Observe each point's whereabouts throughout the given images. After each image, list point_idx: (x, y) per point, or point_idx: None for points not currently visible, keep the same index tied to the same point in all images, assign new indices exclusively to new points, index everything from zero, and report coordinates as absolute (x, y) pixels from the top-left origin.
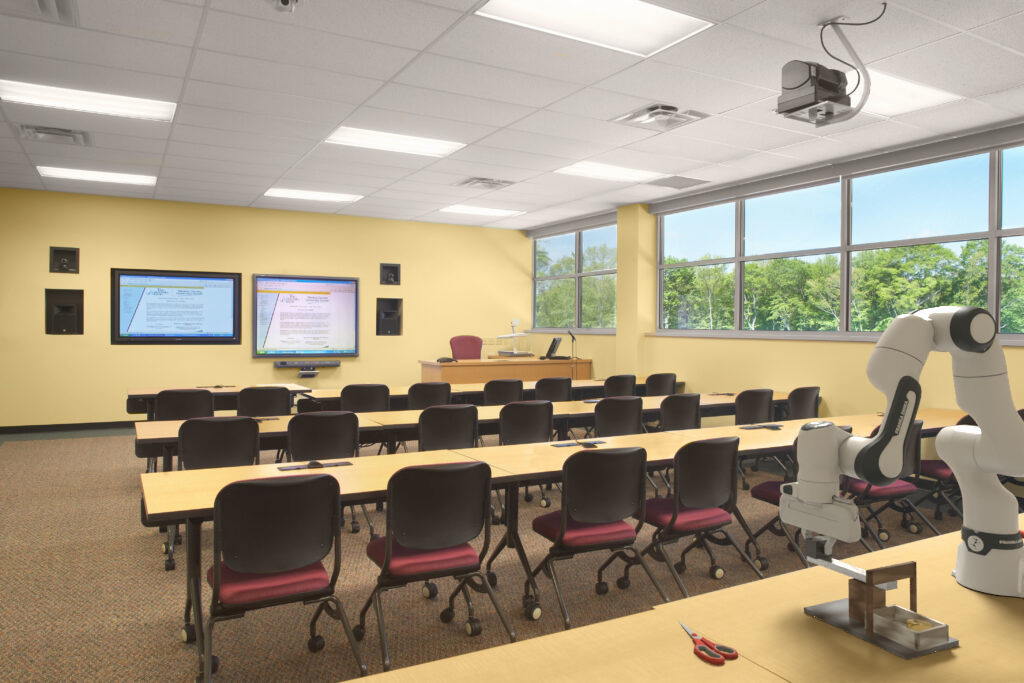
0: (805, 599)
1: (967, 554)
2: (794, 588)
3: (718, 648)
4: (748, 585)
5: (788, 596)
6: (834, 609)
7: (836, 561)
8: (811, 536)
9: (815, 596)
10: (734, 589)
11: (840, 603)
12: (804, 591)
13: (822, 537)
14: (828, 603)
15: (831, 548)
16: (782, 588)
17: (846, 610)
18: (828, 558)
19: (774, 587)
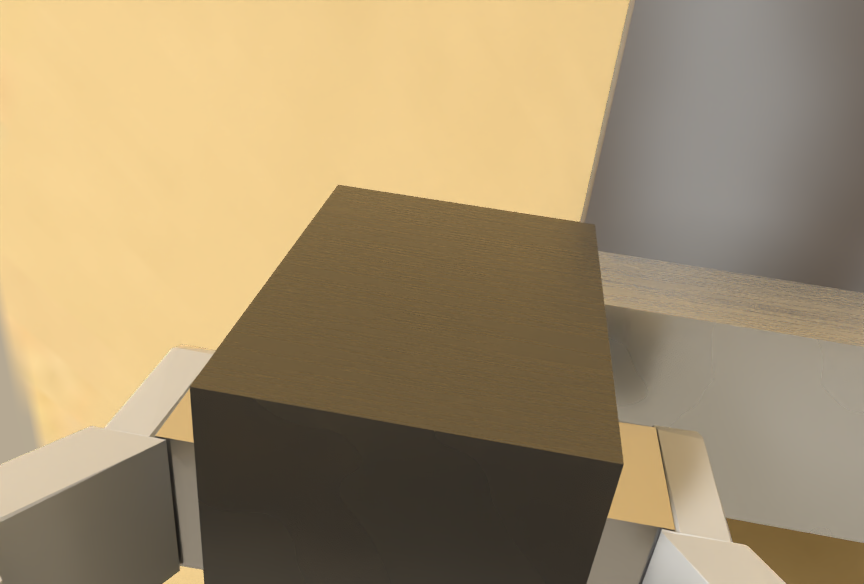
0: (392, 170)
1: None
2: (165, 20)
3: None
4: (5, 279)
5: (285, 226)
6: (718, 267)
7: (800, 411)
8: (79, 499)
9: (387, 30)
10: (49, 405)
11: (689, 101)
12: (256, 6)
13: (349, 509)
14: (615, 191)
15: (716, 515)
16: (131, 115)
17: (804, 206)
18: (621, 374)
19: (93, 153)
